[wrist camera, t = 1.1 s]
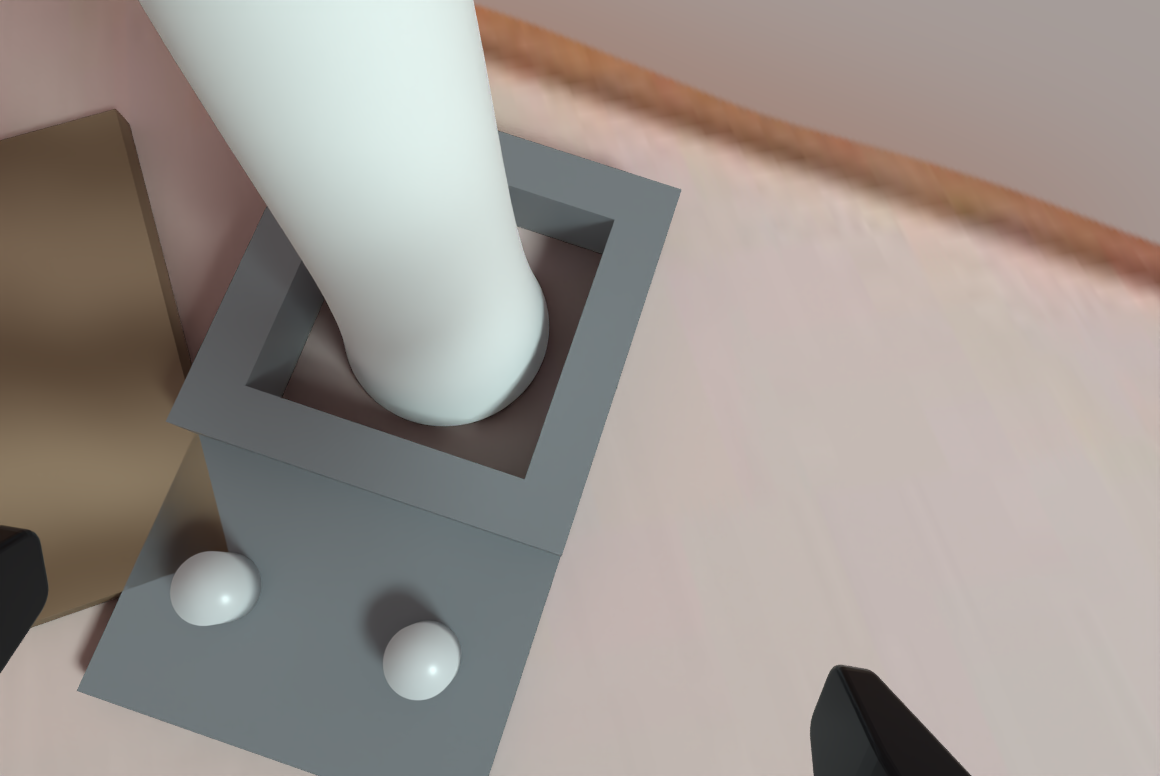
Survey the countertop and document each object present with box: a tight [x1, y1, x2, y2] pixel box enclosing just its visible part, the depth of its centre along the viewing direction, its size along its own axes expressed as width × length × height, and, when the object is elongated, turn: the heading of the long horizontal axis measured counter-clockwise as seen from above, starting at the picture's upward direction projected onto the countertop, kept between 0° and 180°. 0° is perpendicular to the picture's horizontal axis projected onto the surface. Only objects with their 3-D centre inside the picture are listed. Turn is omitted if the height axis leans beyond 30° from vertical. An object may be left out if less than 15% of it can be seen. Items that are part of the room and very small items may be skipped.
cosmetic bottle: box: [138, 0, 549, 426], centre depth 12 cm, size 6×6×22 cm
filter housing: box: [77, 131, 681, 776], centre depth 21 cm, size 18×11×2 cm, turn 162°
